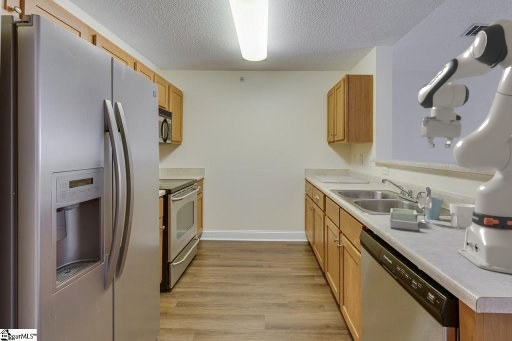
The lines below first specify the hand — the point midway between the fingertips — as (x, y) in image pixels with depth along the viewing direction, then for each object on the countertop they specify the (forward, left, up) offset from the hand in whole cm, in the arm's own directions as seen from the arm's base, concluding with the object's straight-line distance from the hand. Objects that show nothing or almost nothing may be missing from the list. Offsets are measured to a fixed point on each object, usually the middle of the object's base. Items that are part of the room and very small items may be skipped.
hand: (439, 147), depth 138 cm
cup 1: (+17, -1, -36) cm, 40 cm away
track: (-4, +14, -36) cm, 39 cm away
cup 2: (+4, -11, -36) cm, 38 cm away
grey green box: (0, +14, -36) cm, 38 cm away
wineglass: (+5, +4, -36) cm, 37 cm away
